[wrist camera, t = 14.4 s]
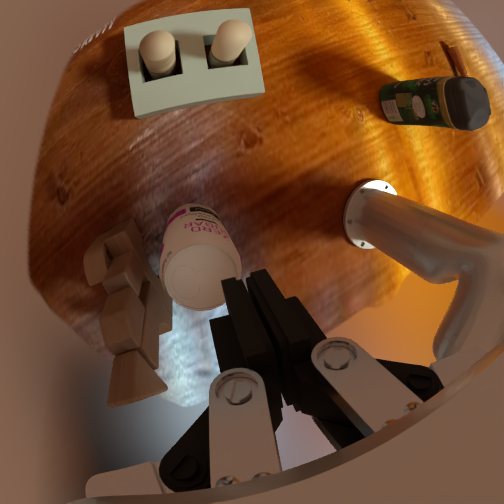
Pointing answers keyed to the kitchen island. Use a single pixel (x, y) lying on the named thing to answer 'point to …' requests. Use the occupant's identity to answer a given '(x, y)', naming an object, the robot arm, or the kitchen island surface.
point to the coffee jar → (437, 102)
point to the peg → (159, 54)
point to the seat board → (197, 61)
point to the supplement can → (197, 257)
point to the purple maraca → (457, 60)
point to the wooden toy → (129, 311)
